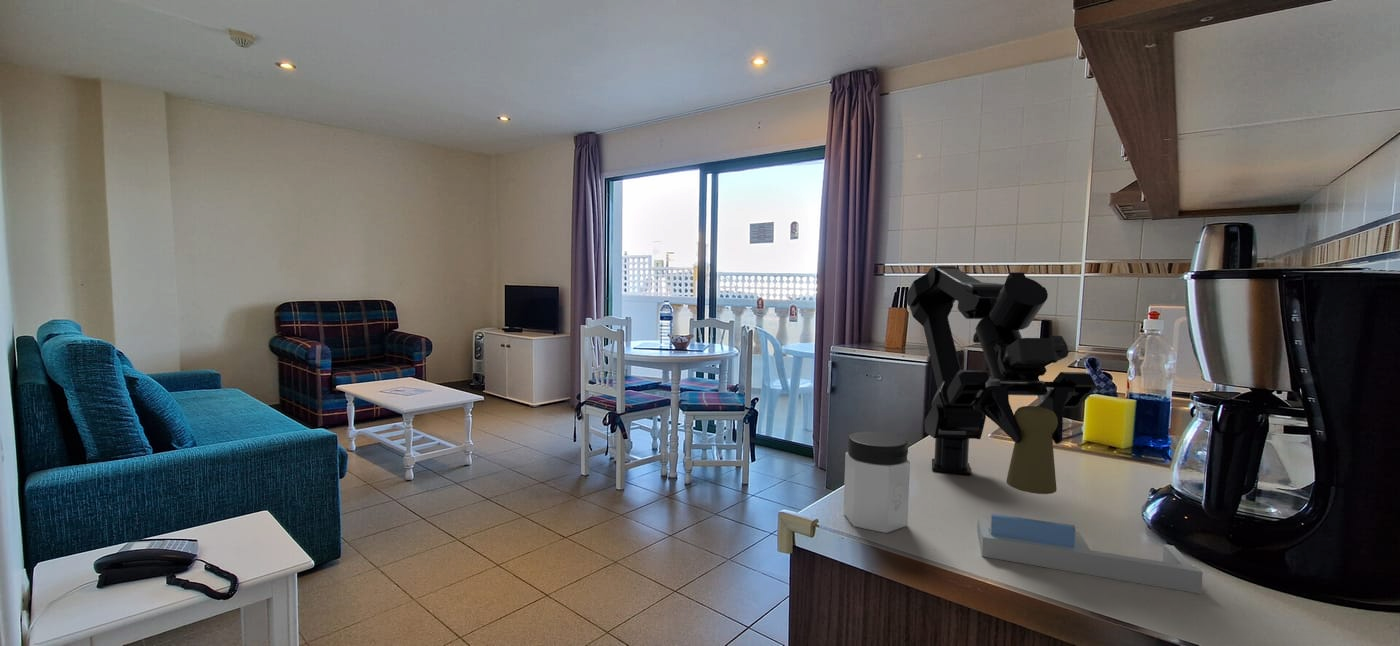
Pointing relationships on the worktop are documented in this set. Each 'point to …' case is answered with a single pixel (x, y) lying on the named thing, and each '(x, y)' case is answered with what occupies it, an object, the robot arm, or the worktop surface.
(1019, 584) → the worktop surface
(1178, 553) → the shallow tray
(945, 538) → the worktop surface
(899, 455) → the jar
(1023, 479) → the cork
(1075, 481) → the worktop surface
